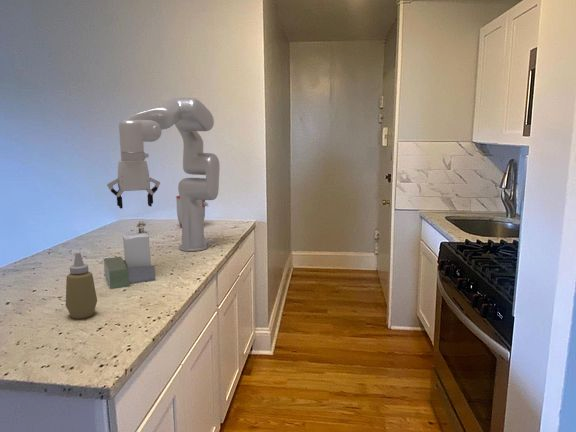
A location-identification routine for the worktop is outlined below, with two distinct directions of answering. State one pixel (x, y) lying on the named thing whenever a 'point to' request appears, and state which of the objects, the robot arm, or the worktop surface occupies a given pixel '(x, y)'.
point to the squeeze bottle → (80, 290)
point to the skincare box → (136, 250)
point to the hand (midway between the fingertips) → (135, 206)
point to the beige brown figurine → (141, 226)
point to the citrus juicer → (180, 209)
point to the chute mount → (126, 273)
